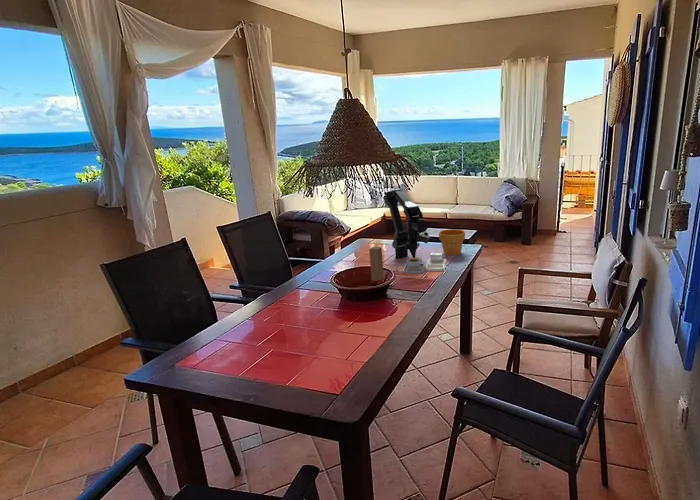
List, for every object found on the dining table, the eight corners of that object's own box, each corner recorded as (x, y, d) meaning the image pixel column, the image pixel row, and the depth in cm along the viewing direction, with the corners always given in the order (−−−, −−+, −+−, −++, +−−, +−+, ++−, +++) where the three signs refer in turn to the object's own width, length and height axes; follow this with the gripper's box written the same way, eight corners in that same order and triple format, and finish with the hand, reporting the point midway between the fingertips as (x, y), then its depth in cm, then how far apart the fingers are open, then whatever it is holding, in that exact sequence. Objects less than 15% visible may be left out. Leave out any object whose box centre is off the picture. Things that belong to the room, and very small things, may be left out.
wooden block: (392, 284, 204) (390, 247, 199) (388, 287, 200) (386, 250, 195) (375, 282, 208) (373, 246, 204) (371, 285, 205) (368, 248, 200)
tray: (402, 274, 216) (402, 271, 215) (406, 266, 228) (406, 263, 227) (422, 274, 213) (422, 271, 212) (425, 266, 225) (425, 263, 225)
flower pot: (459, 259, 233) (458, 236, 230) (435, 256, 242) (434, 234, 238) (469, 252, 244) (469, 230, 240) (446, 250, 252) (445, 228, 249)
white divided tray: (424, 272, 216) (424, 268, 216) (428, 262, 232) (427, 258, 231) (444, 272, 213) (444, 268, 213) (446, 262, 229) (446, 258, 228)
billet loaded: (430, 263, 226) (430, 254, 224) (431, 261, 229) (431, 252, 228) (442, 264, 224) (442, 254, 223) (442, 261, 228) (442, 252, 226)
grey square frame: (407, 265, 229) (406, 261, 229) (408, 261, 236) (408, 257, 235) (420, 265, 227) (420, 261, 227) (421, 261, 234) (421, 257, 233)
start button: (410, 263, 230) (410, 258, 229) (411, 261, 233) (411, 256, 233) (417, 263, 229) (417, 258, 228) (418, 261, 232) (417, 256, 232)
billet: (407, 271, 219) (407, 261, 218) (409, 268, 223) (408, 259, 222) (419, 271, 218) (419, 261, 216) (420, 268, 221) (420, 259, 220)
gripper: (426, 233, 216) (427, 262, 220) (430, 225, 233) (431, 252, 237) (404, 233, 219) (405, 262, 223) (409, 225, 236) (410, 252, 240)
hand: (414, 257), depth 231 cm, fingers closed, pressing on start button
